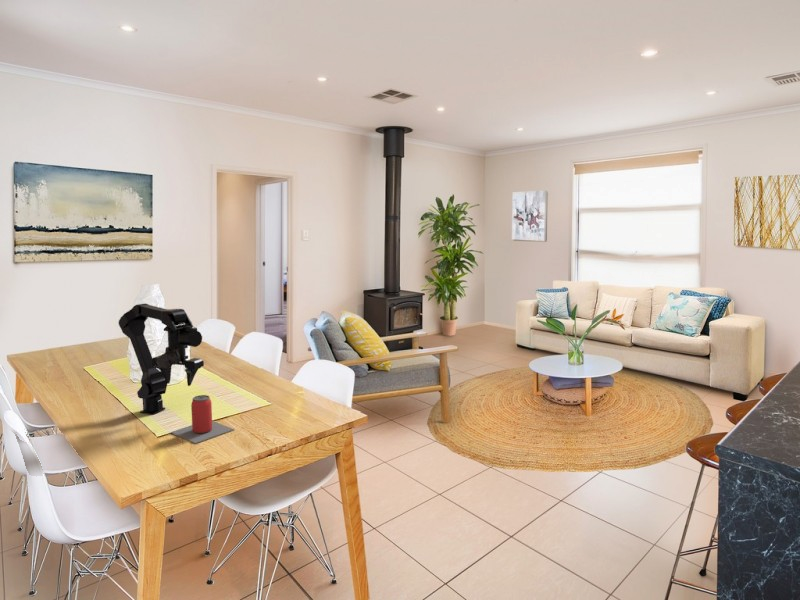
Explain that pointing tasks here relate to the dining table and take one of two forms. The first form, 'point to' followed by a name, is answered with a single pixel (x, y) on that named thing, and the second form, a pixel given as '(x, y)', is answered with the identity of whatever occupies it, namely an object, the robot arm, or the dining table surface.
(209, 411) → the beer can
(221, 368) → the dining table surface
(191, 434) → the mat
